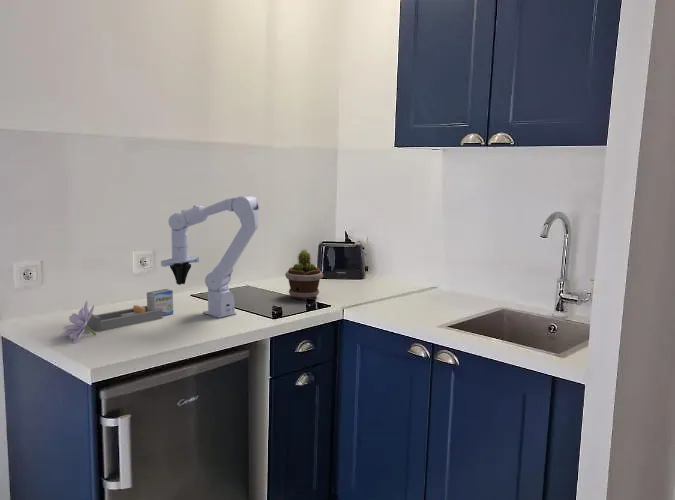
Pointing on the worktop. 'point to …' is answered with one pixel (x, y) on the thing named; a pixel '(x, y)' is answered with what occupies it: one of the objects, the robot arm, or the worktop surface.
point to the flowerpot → (304, 278)
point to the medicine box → (160, 301)
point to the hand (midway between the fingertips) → (180, 284)
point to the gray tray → (121, 319)
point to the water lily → (79, 323)
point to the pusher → (135, 310)
